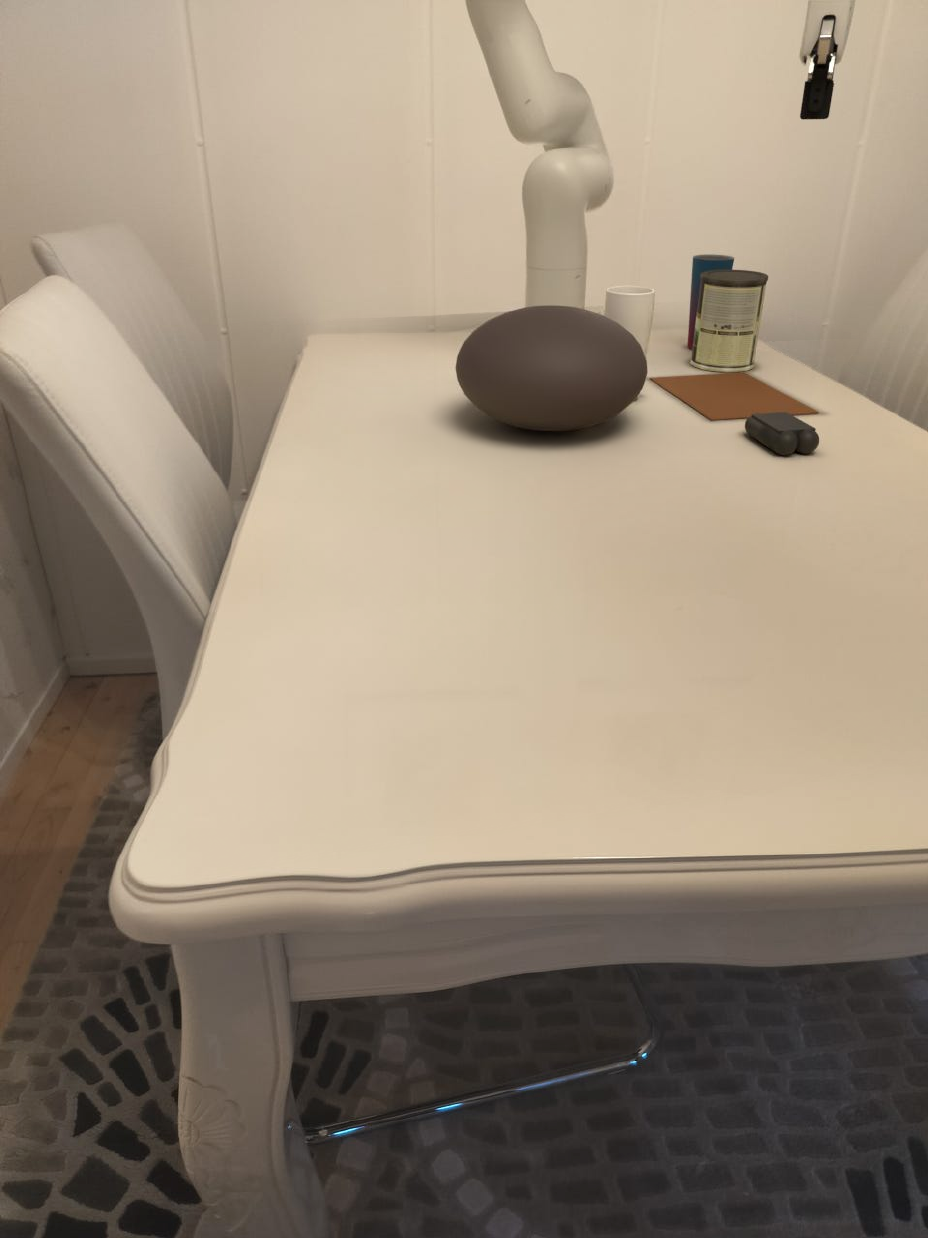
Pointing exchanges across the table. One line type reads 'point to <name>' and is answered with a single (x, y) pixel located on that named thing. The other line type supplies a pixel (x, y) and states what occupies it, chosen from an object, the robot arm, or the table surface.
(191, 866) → the table surface
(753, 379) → the mouse pad
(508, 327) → the flattened ellipsoid
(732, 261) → the cup
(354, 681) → the table surface
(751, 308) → the coffee can
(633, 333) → the drinking glass
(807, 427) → the mouse
